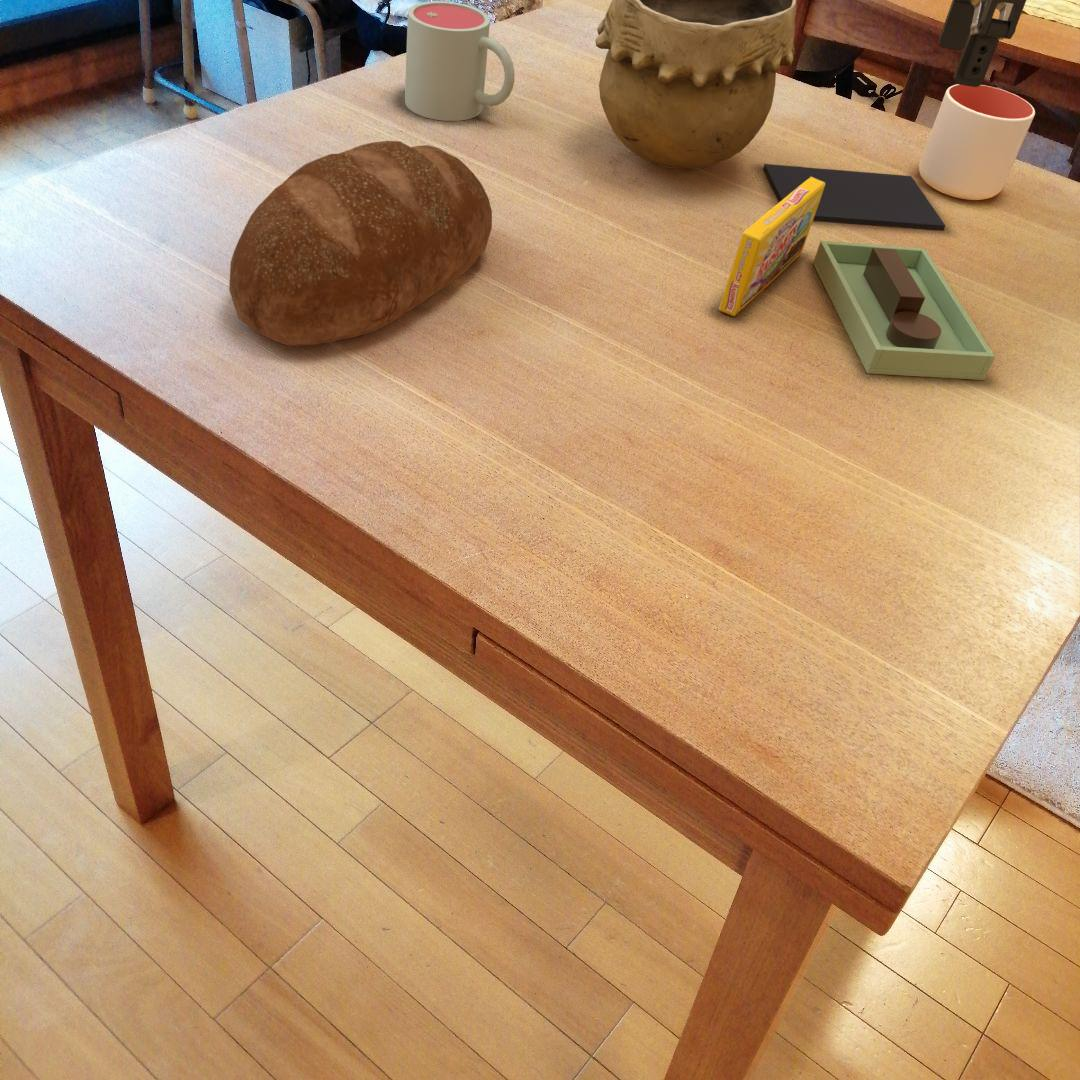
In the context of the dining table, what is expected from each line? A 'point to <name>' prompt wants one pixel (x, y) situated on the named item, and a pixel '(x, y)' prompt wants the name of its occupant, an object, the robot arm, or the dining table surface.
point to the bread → (357, 242)
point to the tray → (867, 323)
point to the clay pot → (692, 74)
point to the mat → (860, 197)
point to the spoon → (900, 301)
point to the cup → (975, 141)
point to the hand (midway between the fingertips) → (957, 65)
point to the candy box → (771, 245)
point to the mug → (451, 61)
